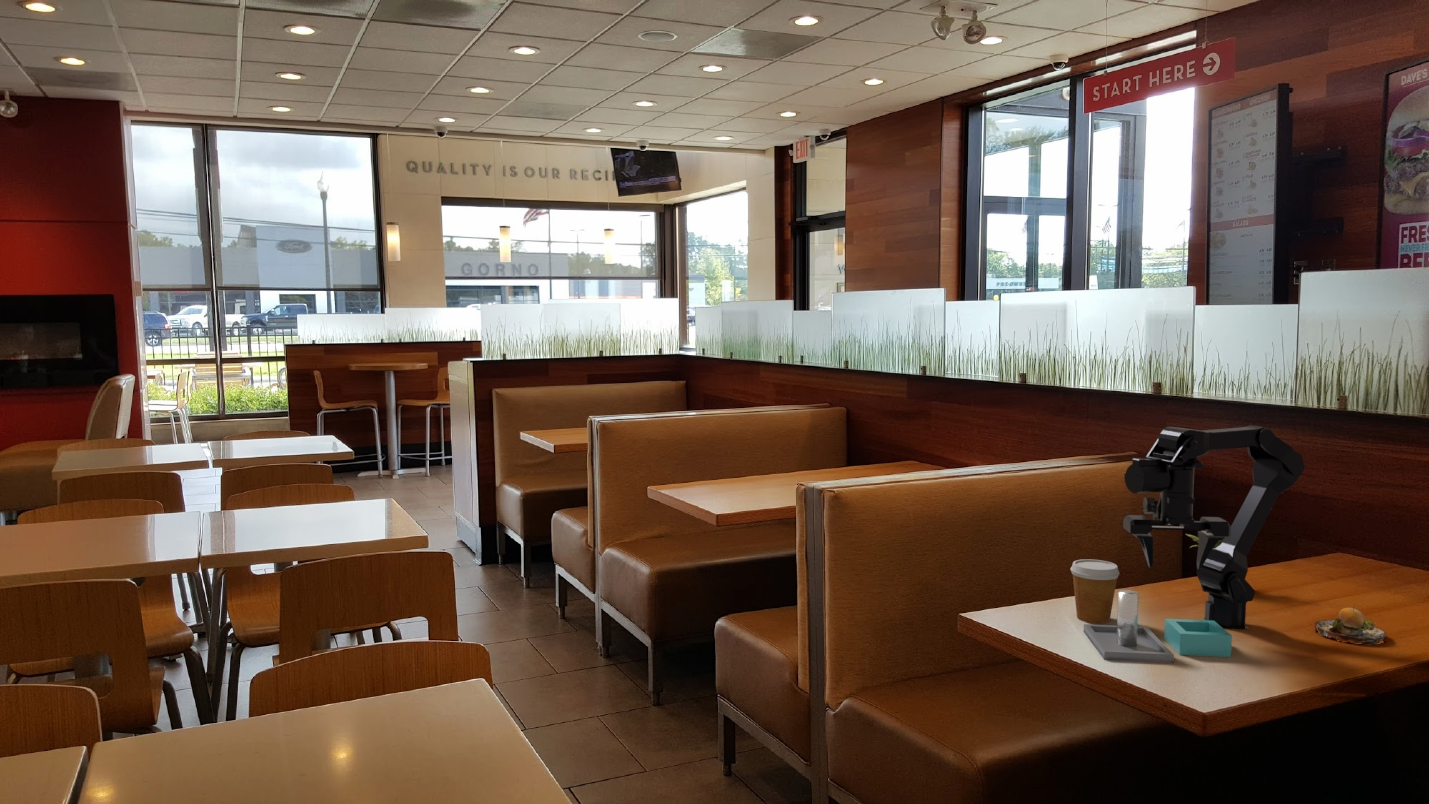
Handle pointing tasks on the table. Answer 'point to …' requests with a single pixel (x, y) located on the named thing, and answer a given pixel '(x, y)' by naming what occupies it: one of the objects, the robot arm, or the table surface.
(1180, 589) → the table surface
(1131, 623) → the steel pin
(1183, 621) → the teal square open box
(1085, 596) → the disposable coffee cup
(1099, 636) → the charcoal tray
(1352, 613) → the burger
